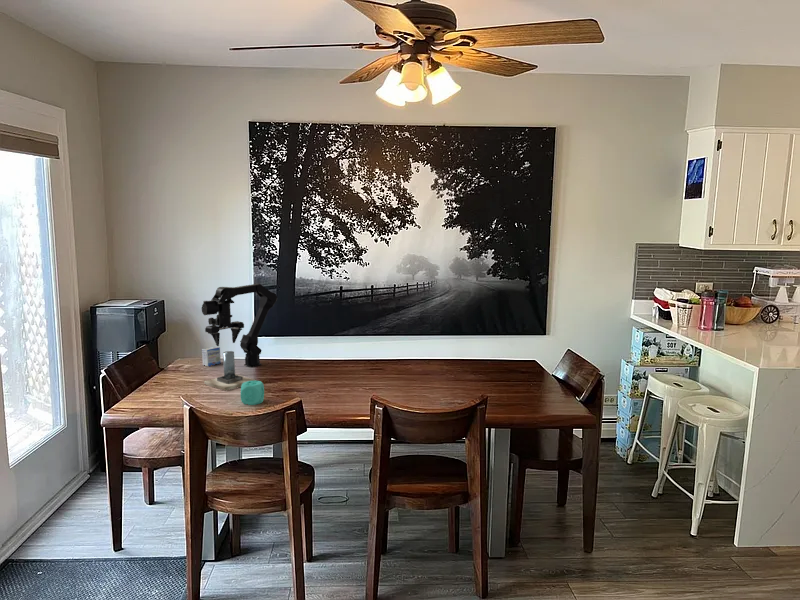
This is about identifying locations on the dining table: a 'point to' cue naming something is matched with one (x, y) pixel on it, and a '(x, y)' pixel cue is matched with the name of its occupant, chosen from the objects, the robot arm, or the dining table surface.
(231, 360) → the shiny steel cylinder
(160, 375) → the dining table surface
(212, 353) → the medicine box
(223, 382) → the collar base
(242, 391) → the decorative dice
